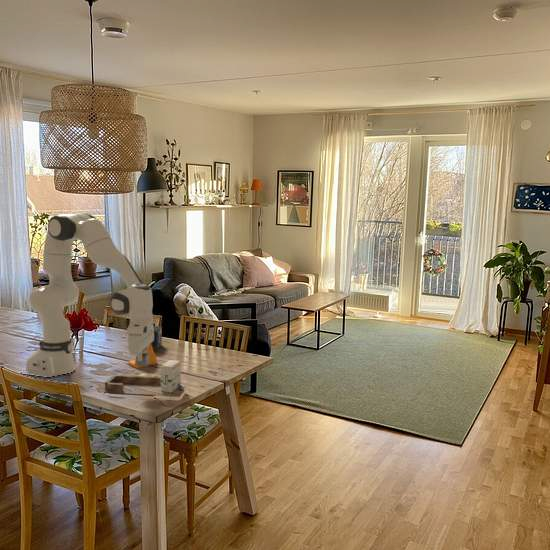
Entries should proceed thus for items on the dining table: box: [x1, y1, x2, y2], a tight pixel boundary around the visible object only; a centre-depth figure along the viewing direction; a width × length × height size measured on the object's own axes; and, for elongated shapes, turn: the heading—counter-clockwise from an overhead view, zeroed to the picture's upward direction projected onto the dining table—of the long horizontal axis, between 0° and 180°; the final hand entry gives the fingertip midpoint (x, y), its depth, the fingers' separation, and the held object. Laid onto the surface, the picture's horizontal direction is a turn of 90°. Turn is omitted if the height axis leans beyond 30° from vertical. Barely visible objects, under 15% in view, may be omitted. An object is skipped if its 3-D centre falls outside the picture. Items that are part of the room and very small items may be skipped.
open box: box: [103, 374, 161, 397], centre depth 221 cm, size 20×11×4 cm, turn 85°
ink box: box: [159, 359, 181, 393], centre depth 220 cm, size 9×5×12 cm, turn 163°
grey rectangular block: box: [135, 349, 149, 367], centre depth 219 cm, size 4×4×6 cm
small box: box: [150, 325, 163, 352], centre depth 278 cm, size 11×6×10 cm, turn 178°
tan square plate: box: [137, 372, 157, 377], centre depth 234 cm, size 7×7×1 cm
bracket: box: [128, 344, 158, 369], centre depth 249 cm, size 11×7×12 cm, turn 140°
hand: (142, 358), depth 219 cm, fingers closed on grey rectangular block, 4 cm apart
